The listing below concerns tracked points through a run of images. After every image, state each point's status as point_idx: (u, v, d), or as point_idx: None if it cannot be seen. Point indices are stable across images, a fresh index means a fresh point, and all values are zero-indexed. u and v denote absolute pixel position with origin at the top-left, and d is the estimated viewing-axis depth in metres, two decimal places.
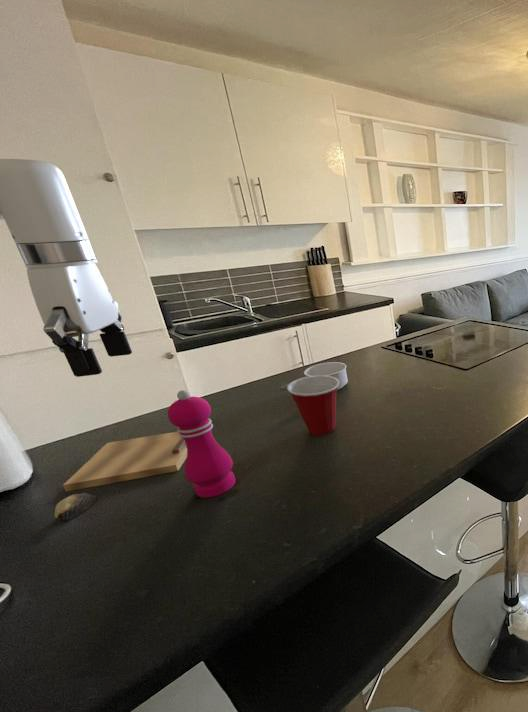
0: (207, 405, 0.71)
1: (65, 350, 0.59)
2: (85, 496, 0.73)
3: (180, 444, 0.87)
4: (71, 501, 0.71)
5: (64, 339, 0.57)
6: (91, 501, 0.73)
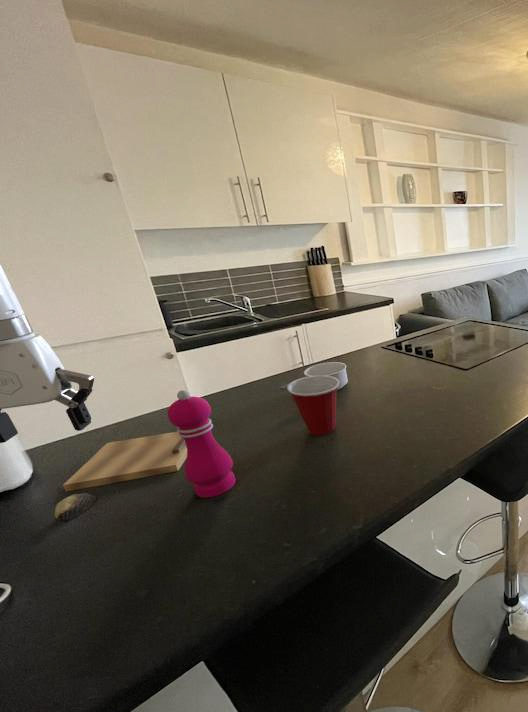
0: (207, 405, 0.71)
1: (80, 403, 0.66)
2: (85, 496, 0.73)
3: (180, 444, 0.87)
4: (71, 501, 0.71)
5: None
6: (91, 501, 0.73)
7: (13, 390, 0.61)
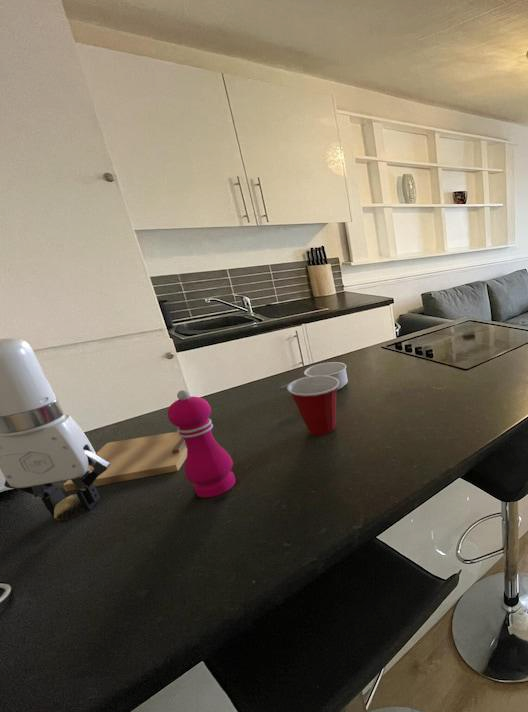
0: (207, 405, 0.71)
1: (90, 485, 0.71)
2: None
3: (180, 444, 0.87)
4: (70, 501, 0.71)
5: None
6: None
7: (45, 469, 0.66)
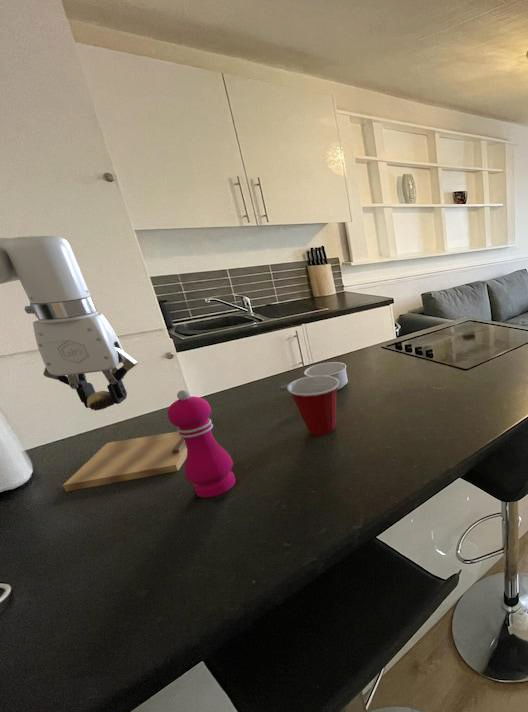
0: (207, 405, 0.71)
1: (119, 380, 0.78)
2: None
3: (180, 444, 0.87)
4: (101, 395, 0.77)
5: None
6: None
7: (81, 359, 0.73)
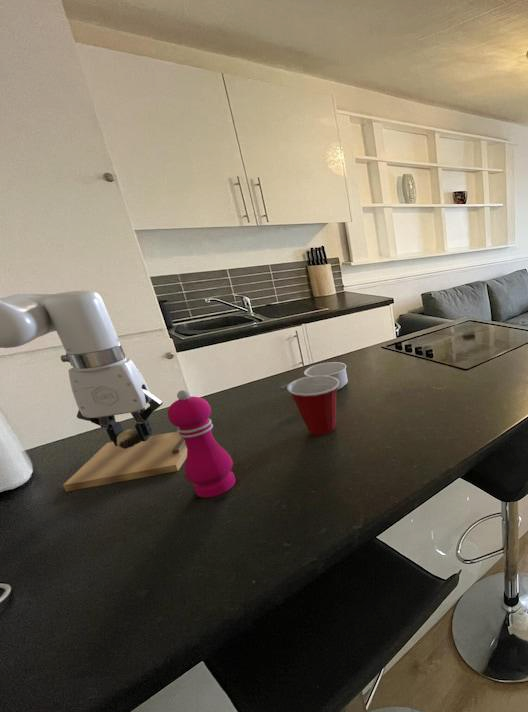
0: (207, 405, 0.71)
1: (145, 419, 0.83)
2: None
3: (180, 444, 0.87)
4: (129, 433, 0.83)
5: None
6: None
7: (112, 402, 0.79)
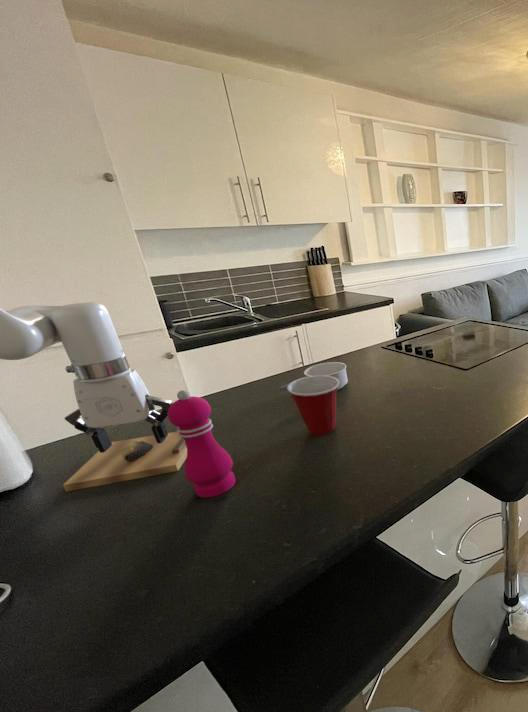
0: (207, 405, 0.71)
1: (162, 422, 0.84)
2: (144, 443, 0.87)
3: (180, 444, 0.87)
4: (134, 446, 0.84)
5: None
6: (149, 447, 0.87)
7: (115, 413, 0.79)
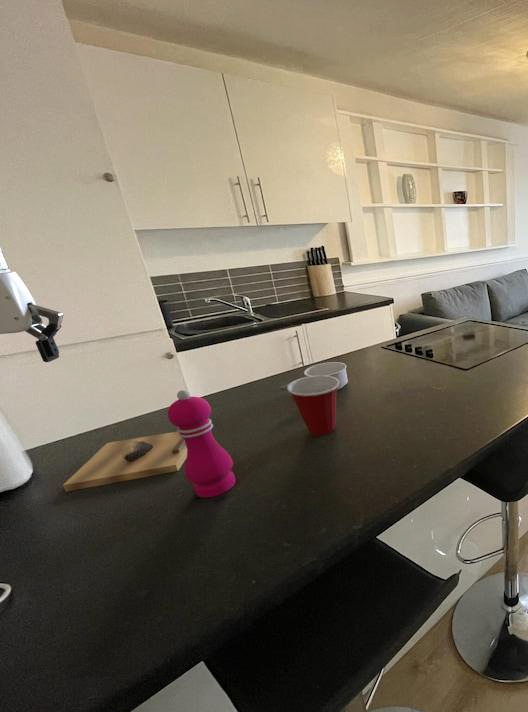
0: (207, 405, 0.71)
1: (49, 336, 0.73)
2: (144, 443, 0.87)
3: (180, 444, 0.87)
4: (134, 446, 0.84)
5: (59, 324, 0.74)
6: (149, 447, 0.87)
7: None
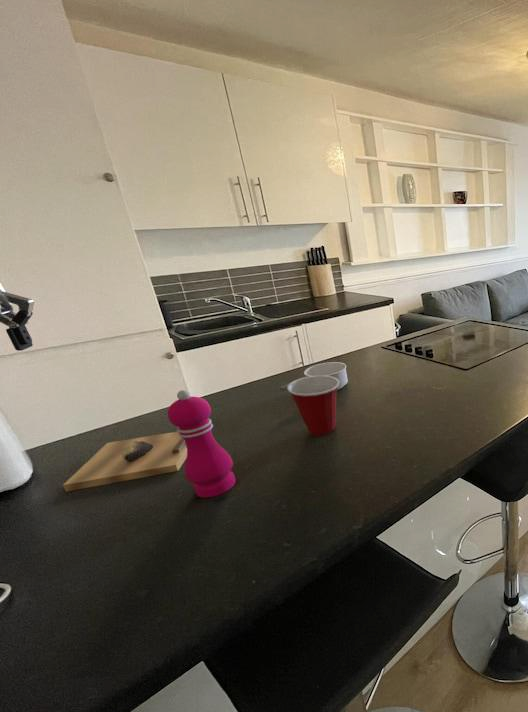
0: (207, 405, 0.71)
1: (20, 324, 0.71)
2: (144, 443, 0.87)
3: (180, 444, 0.87)
4: (134, 446, 0.84)
5: None
6: (149, 447, 0.87)
7: None
